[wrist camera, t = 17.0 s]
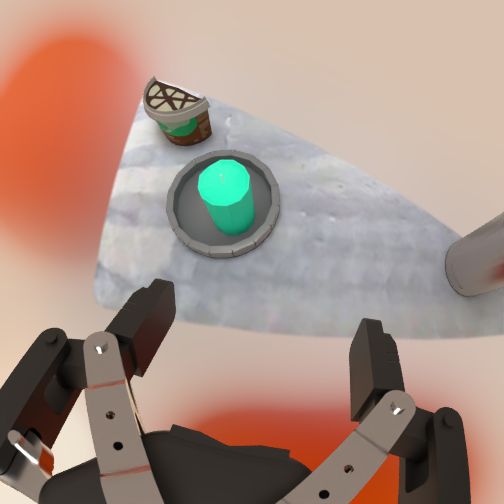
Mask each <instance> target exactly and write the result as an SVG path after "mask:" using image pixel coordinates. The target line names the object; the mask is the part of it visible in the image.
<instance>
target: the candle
mask: <svg viewBox="0 0 504 504" xmlns="http://www.w3.org/2000/svg"><path fill="white" fill-rule="evenodd" d="M198 190H199V192H200V195H201V197H202V199H203V201H204V203H205V205H206V207H207V209H208V211H209V213H210V215H211V217H212V219H213V221H214V223H215V225H216V227H217V229H218V230H220V231H221V232H223V233H224V234H226V235H233V236H238V235H240V234H243V233H245V232H247V231H248V230H249V229H250V227H251V226H252V225H253V223H254V218H255V209H254V202H253V195H252V188H251V182H250V176H249V174H248V172H247V170H246V169H245V167H244V166H243V165H241V164H240V163H238V162H236V161H234V160H219V161H217V162H215V163H214V164H212V165H210V166H209V167H207V168H206V169H205V170H204V171H203V172H202V173H201V174H200V175H199V182H198Z"/></svg>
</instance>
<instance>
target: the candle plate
mask: <svg viewBox="0 0 504 504" xmlns="http://www.w3.org/2000/svg"><path fill="white" fill-rule="evenodd" d="M193 160H194V161H193ZM193 160H192V161H191V162H189V163H188V164H187V165H186V166H185V167H184V168H183V169H182V170H181V171H180V172H178V174H177V175H176V177H175V179H174V181H173V183H172V185H171V187H170V189H169V190H168V196H167V207H166V211H167V212H166V213H167V216H168V219H169V221H170V224H171V227H172V230H173V231H174V232H175V234H176V235H177V236H178V237H179V238H180V239H181V240H182V241H183V242H184V243H185V244H186V245H187V246H188V247H189V248H190V249H192V250H194V251H196V252H198V253H200V254H202V255H205V256H208V257H213V258H231V257H236V256H239V255H242V254H245V253H247V252H249V251H251V250H253V249H254V248H256V247H257V246H258V245H260V244H261V243H262V242H263V241H264V240H265V239H266V238H267V236H268V235H269V234H270V232H271V231H272V229H273V227H274V225H275V223H276V219H277V216H278V213H279V188H278V183H277V181H276V180H275V178H274V176H273V174H272V172H271V171H270V169H269V168H268V166H266V165H265V164H264V163H262V162H261V161H260V160H259V159H257V158H256V157H255V156H252V155H250V154H247V153H243V152H240V151H236V150H222V151H213V153H212V152H209V153H207V154H204V155H202V156H200V157H198V158H195V159H193ZM219 160H234V161H236V162H238V163H240V164H241V165H243V166H244V167H245V169H246V170H247V172H248V174H249V176H250V182H251V188H252V195H253V202H254V209H255V218H254V223H253V225H252V226H251V227H250V229H249V230H248V231H247V232H245V233H243V234H240V235H238V236H233V235H226V234H224V233H223V232H221V231H220V230H218V229H217V227H216V225H215V223H214V221H213V219H212V217H211V215H210V213H209V211H208V209H207V207H206V205H205V203H204V201H203V199H202V197H201V195H200V192H199V190H198V182H199V175H200V174H201V173H202V172H203V171H204V170H205V169H206V168H207V167H209V166H210V165H212V164H214V163H215V162H217V161H219Z"/></svg>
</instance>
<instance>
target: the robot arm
mask: <svg viewBox="0 0 504 504" xmlns="http://www.w3.org/2000/svg"><path fill="white" fill-rule="evenodd" d="M445 263H446V273H447V277H448V279H449V282H450V283H451V285H452V287H453V288H454V289H455V290H456V291H457V292H458V293H459V294H461V295H464V296H474V295H478V294H481V293H485V292H489V291H492V290H496V289H499V288H502V287H504V212H503V213H502V214H500V215H499V216H497V217H495V218H494V219H493V220H491V221H489V222H488V223H486V224H485V225H483V226H481V227H480V228H478V229H477V230H475V231H474V232H472V233H470V234H469V235H467V236H465V237H464V238H462V239H460V240H459V241H457V242H455V243H454V244H453V245H452V246H451V247H450V249H449V250H448V253H447V256H446V262H445ZM175 313H176V306H175V292H174V284H173V282H171V281H166V280H162V279H157V278H156V279H155V280H154V281H153V282H152V283H151V285H150V286H149V287H148V288H145V287H142V288H141V289H139V290H138V291H136V292H134V293H133V294H132V296H131V297H130V298H129V299H128V301H127V302H126V303H125V305H124V306H123V308H122V309H121V310H120V311H119V312H118V314H117V315H116V316H115V318H114V319H113V320H112V322H111V323H110V324H109V326H108V327H107V328H106V330H105V331H103V332H102V331H101V332H96V333H93V334H91V335H90V336H89V337H88V338H87V339H86V340H79V339H68V338H67V336H66V334H65V332H64V331H63V330H62V329H59V328H50V329H47V330H45V331H43V332H42V333H41V334H40V335H39V336H38V338H37V339H36V340H35V342H34V343H33V344H32V345H31V347H30V348H29V349H28V351H27V352H26V354H25V355H24V356H23V358H22V359H21V360H20V362H19V363H18V365H17V366H16V367H15V369H14V370H13V372H12V373H11V374H10V376H9V377H8V379H7V380H6V382H5V383H4V385H3V386H2V388H1V389H0V481H2V482H3V483H4V484H6V485H9V486H11V487H12V488H14V489H16V490H17V491H20V492H21V493H23V494H24V495H26V496H27V497H29V498H30V499H32V500H33V501H35V502H37V503H38V504H348V503H349V502H350V501H351V500H352V499H353V498H354V497H355V496H356V495H357V493H358V492H359V491H360V490H361V489H362V488H363V487H364V485H365V484H366V483H367V482H368V481H369V480H370V478H371V477H372V476H373V474H375V472H376V471H377V470H378V468H379V467H380V466H381V465H382V463H383V462H384V461H385V459H386V458H387V456H388V455H389V453H390V454H393V455H396V456H399V458H400V459H399V460H400V462H399V463H400V465H399V495H398V504H471V495H470V478H469V467H468V457H467V449H466V442H465V435H464V428H463V422H462V418H461V417H460V415H459V413H458V412H457V411H455V410H454V409H452V408H449V407H443V408H440V409H439V410H437V411H436V412H435V413H432V412H429V411H426V410H423V409H420V408H418V407H416V406H415V402H414V400H413V399H412V397H411V396H410V395H408V394H407V393H405V388H404V382H403V377H402V371H401V366H400V363H399V356H398V351H397V346H396V343H395V341H394V340H393V338H392V337H391V335H390V334H386V333H383V328H382V323H381V321H380V320H374V319H367V318H363V319H362V321H361V323H360V325H359V328H358V330H357V332H356V335H355V337H354V339H353V341H352V344H351V347H350V353H349V365H350V389H351V390H350V393H351V421H356V422H359V426H358V427H357V429H355V430H354V431H353V432H352V433H351V434H350V435H349V436H348V437H347V439H346V440H345V441H344V442H343V443H342V444H341V445H340V446H339V447H338V448H337V449H336V450H335V451H334V452H333V453H332V454H331V455H330V456H329V457H328V458H327V459H326V460H325V461H324V462H323V463H322V464H321V465H320V466H319V467H318V468H317V469H316V470H315V471H314V472H312V471H311V470H310V469H309V468H307V467H306V466H305V465H303V464H302V463H300V462H299V461H297V460H294V459H292V458H290V457H289V452H290V450H286V449H279V448H273V447H267V446H261V445H259V446H228V445H225V444H223V443H221V442H219V441H217V440H215V439H213V438H211V437H209V436H207V435H205V434H203V433H201V432H199V431H195V430H191V429H188V428H185V427H181V426H178V425H174V424H173V425H172V427H171V430H170V431H153V432H150V433H146V431H145V429H144V426H143V423H142V421H141V418H140V414H139V411H138V407H137V404H136V400H135V397H134V393H133V389H132V386H131V382H130V380H131V378H132V377H133V375H137V376H140V377H143V375H144V374H145V372H146V370H147V368H148V366H149V365H150V363H151V361H152V359H153V357H154V355H155V354H156V352H157V350H158V348H159V346H160V345H161V343H162V341H163V339H164V337H165V336H166V334H167V332H168V330H169V329H170V327H171V325H172V323H173V321H174V318H175ZM83 389H85V398H86V405H87V412H88V417H89V423H90V428H91V433H92V438H93V443H94V448H95V452H96V456H97V457H95V458H93V459H91V460H89V461H86V462H84V463H82V464H80V465H77V466H75V467H73V468H71V469H68V470H65V471H63V472H61V473H58V474H56V475H54V476H52V471H53V469H54V456H53V453H52V452H51V448H52V446H53V444H54V442H55V440H56V438H57V436H58V434H59V433H60V430H61V429H62V427H63V425H64V423H65V421H66V419H67V417H68V415H69V413H70V412H71V410H72V408H73V406H74V404H75V402H76V400H77V398H78V397H79V395H80V393H81V391H82V390H83Z"/></svg>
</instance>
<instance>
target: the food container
mask: <svg viewBox="0 0 504 504" xmlns="http://www.w3.org/2000/svg"><path fill="white" fill-rule="evenodd" d="M143 104H144V108H145V112H146V113H147V115H148V116H149V117H150V118H152V119H153V120H155V121H157V123H158V124H159V126H160V127H161V129H162V130H163V132H164V133H165V135H166V136H167V138H168V139H169V140H170V141H171V142H172V143H174V144H176V145H180V146H189V145H194V144H197V143H200V142H202V141H203V140H205V139H207V138H208V137H209V136H210V135H211V134H212V132H211V126H210V121H209V115H208V108H209V107H210V105H209V103H208V101H207V100H206V98H205V96H204V97H203V98H202V99H200V98H197V97H195V96H193V95H190V94H188V93H186V92H185V91H183V90H181V89H179V88H176V87H173V86H169V85H166V84H164V83H161V82H158V81H157V80H156V79H155V77H153V78H152V79H151V80H150V81H149V82H148V83H147V85H146V87H145V89H144V93H143Z"/></svg>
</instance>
